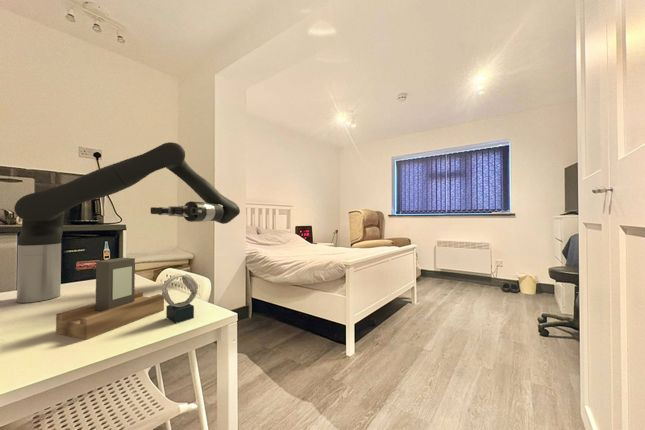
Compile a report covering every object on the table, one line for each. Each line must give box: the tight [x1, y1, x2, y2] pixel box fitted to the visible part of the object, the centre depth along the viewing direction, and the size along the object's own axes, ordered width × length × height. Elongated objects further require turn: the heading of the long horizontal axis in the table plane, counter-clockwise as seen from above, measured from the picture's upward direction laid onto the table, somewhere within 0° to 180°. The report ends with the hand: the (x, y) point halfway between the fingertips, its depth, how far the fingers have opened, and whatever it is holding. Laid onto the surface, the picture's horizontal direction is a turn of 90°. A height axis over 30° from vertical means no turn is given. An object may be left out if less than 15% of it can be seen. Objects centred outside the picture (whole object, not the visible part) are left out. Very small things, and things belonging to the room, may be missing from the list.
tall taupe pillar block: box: [95, 257, 136, 312], centre depth 63 cm, size 5×6×12 cm
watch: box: [161, 273, 199, 325], centre depth 64 cm, size 6×8×11 cm
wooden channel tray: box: [55, 291, 165, 340], centre depth 63 cm, size 10×18×4 cm, turn 163°
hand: (161, 210), depth 81 cm, fingers open, 8 cm apart
